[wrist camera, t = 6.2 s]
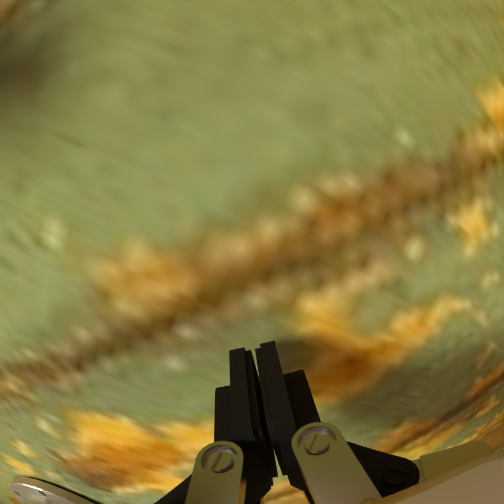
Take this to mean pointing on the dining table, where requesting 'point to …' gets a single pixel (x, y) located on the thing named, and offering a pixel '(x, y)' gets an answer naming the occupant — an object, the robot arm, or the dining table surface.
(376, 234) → the dining table surface
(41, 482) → the robot arm
